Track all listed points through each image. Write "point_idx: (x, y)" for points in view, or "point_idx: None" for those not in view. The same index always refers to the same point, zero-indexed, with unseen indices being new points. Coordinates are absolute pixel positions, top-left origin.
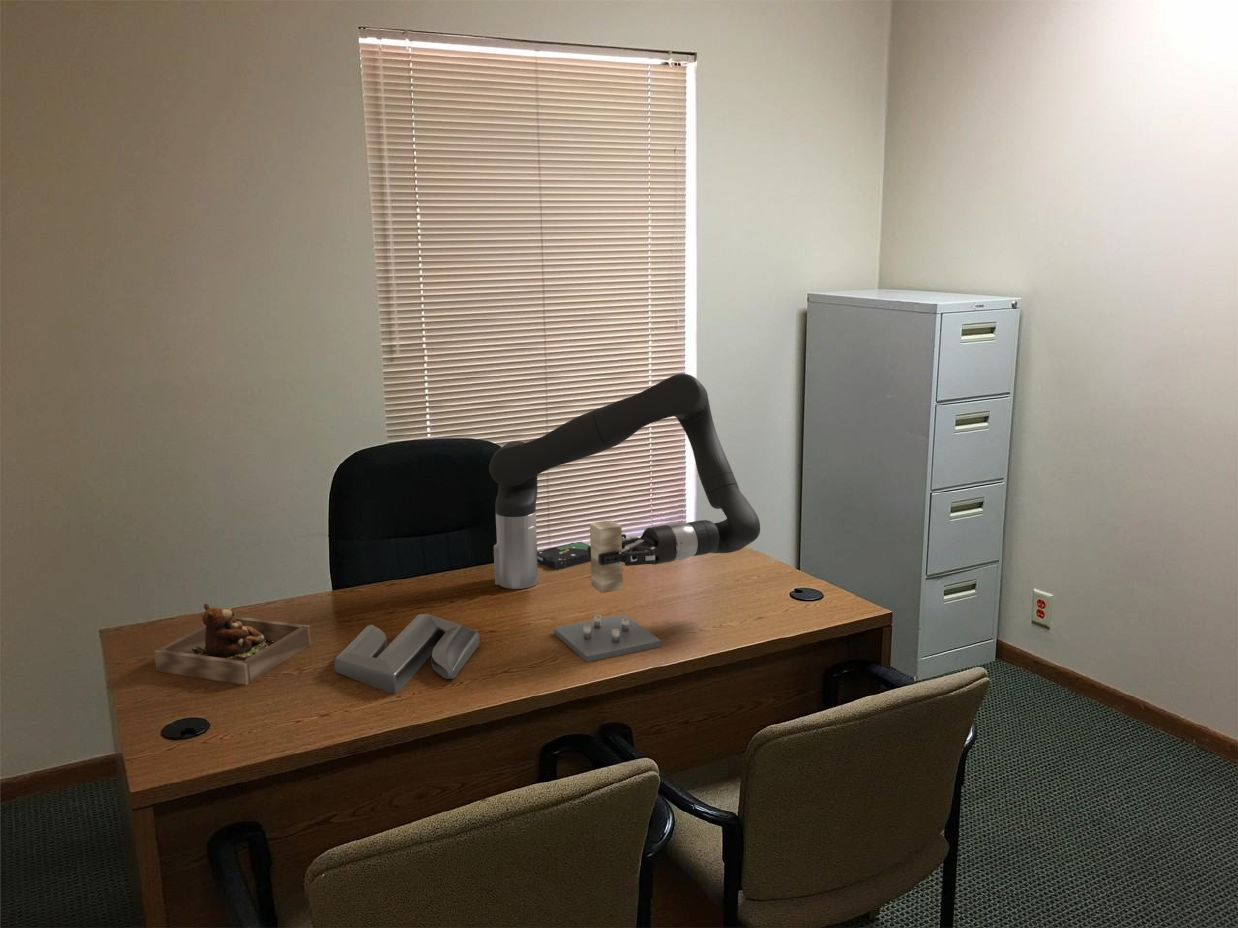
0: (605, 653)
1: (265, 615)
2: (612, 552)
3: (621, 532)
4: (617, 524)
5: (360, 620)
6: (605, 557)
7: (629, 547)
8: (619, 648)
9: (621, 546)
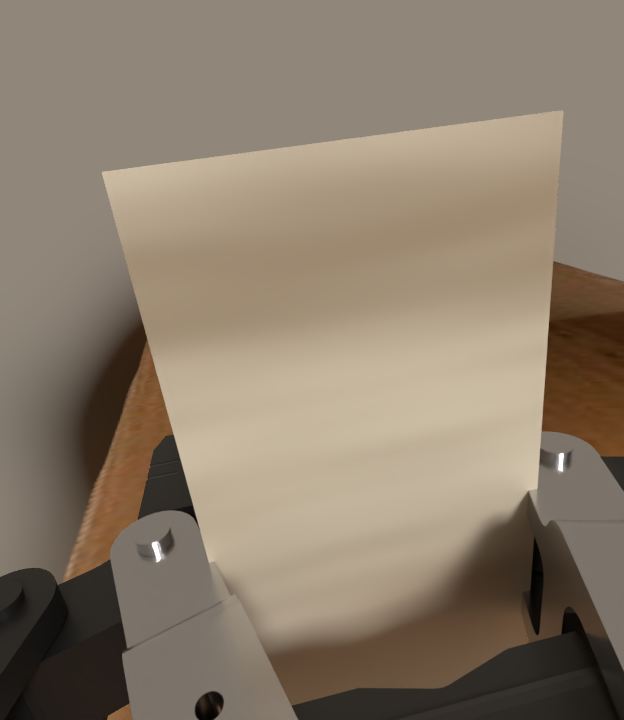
0: None
1: (563, 284)
2: (182, 474)
3: (142, 311)
4: (239, 155)
5: (558, 336)
6: (161, 450)
7: (127, 648)
8: None
9: (201, 523)
